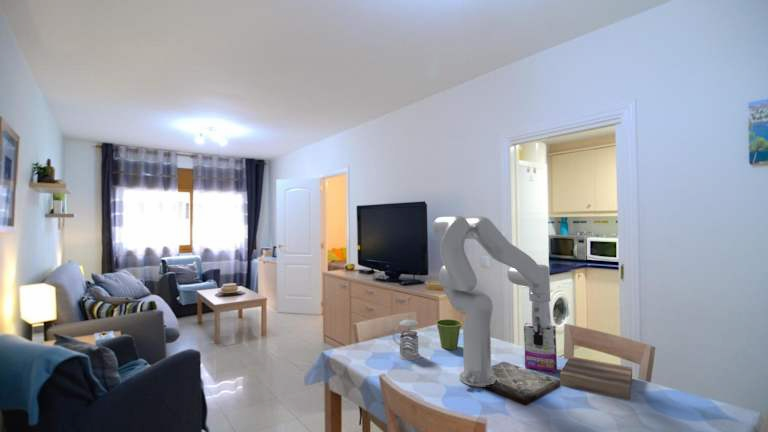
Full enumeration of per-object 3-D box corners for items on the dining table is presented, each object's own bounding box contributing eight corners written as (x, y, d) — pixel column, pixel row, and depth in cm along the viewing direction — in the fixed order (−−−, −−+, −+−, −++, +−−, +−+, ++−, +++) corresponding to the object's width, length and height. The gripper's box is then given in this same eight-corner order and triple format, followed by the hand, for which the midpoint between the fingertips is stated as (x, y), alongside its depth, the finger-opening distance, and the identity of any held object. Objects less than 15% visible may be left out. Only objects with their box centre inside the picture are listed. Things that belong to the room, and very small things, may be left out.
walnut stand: (629, 400, 116) (629, 387, 116) (560, 384, 128) (560, 373, 128) (632, 378, 133) (631, 367, 133) (570, 366, 144) (570, 356, 144)
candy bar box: (557, 368, 143) (556, 325, 143) (556, 373, 138) (555, 328, 139) (526, 363, 148) (525, 322, 148) (524, 368, 143) (523, 325, 144)
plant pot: (431, 345, 171) (430, 320, 172) (452, 341, 176) (452, 318, 177) (445, 353, 161) (445, 327, 161) (468, 349, 166) (467, 323, 166)
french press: (421, 359, 153) (420, 299, 154) (393, 360, 153) (392, 299, 154) (419, 351, 163) (419, 294, 164) (393, 352, 163) (392, 294, 164)
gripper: (544, 302, 134) (546, 349, 134) (554, 293, 149) (556, 336, 148) (523, 300, 139) (525, 346, 139) (535, 292, 153) (536, 334, 153)
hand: (541, 341), depth 143 cm, fingers open, 9 cm apart
